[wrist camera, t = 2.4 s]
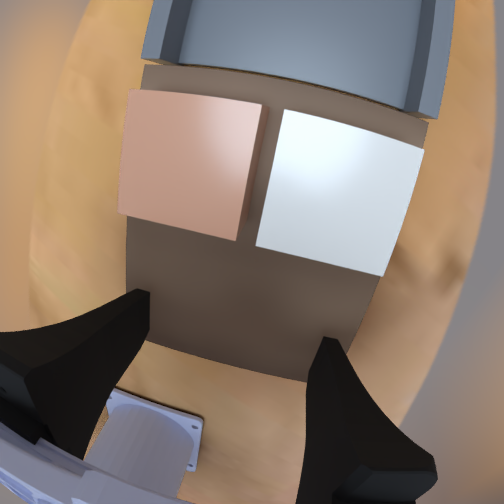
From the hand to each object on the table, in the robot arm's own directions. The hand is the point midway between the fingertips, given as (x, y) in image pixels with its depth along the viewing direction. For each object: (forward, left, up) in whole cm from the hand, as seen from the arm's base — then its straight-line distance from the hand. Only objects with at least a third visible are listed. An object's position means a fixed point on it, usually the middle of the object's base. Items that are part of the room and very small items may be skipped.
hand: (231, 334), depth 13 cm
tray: (+14, 0, -4) cm, 15 cm away
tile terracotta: (+7, +2, -1) cm, 7 cm away
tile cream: (+7, -2, -1) cm, 7 cm away
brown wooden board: (+4, 0, -4) cm, 5 cm away
